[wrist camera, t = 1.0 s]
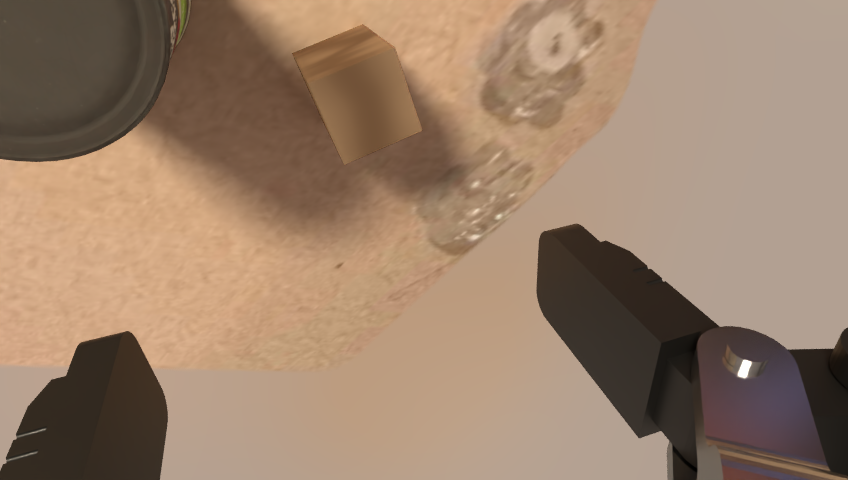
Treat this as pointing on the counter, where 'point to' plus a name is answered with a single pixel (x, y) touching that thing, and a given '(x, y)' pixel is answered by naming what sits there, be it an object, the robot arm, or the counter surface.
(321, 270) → the counter surface
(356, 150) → the walnut block
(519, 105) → the counter surface
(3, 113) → the coffee can
